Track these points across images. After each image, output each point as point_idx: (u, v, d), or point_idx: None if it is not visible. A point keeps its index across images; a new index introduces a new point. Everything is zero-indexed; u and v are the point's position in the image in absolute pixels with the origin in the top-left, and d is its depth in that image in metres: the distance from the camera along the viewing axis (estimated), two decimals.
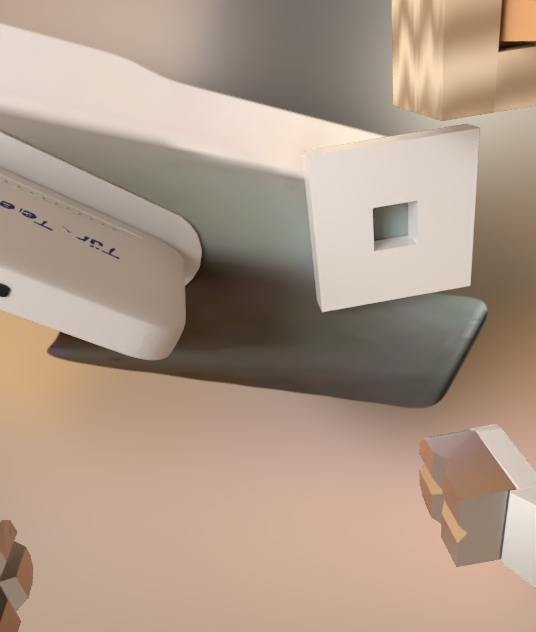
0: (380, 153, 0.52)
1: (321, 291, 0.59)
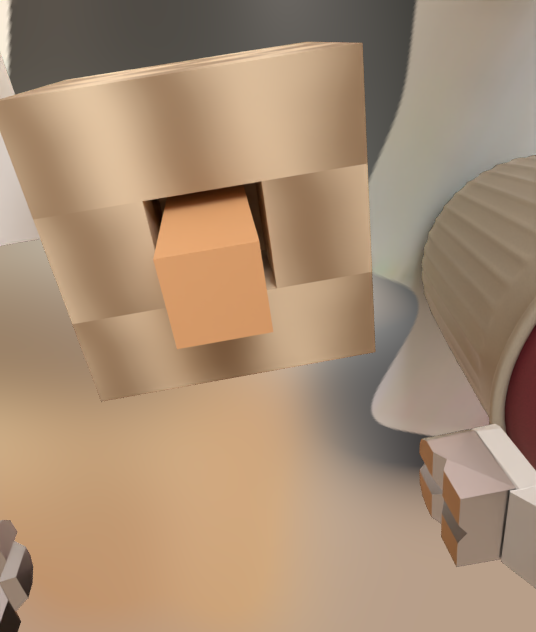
0: None
1: None
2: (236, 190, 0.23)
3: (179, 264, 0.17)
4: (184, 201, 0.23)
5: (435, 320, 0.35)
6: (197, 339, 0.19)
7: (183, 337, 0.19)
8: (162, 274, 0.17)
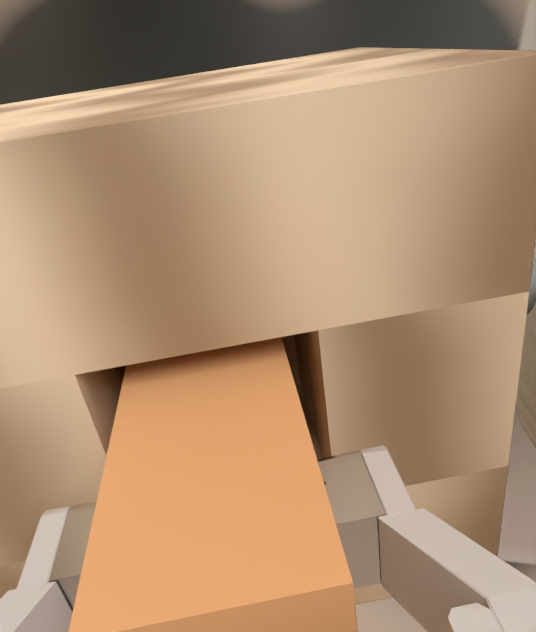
0: None
1: None
2: None
3: None
4: None
5: None
6: None
7: None
8: None
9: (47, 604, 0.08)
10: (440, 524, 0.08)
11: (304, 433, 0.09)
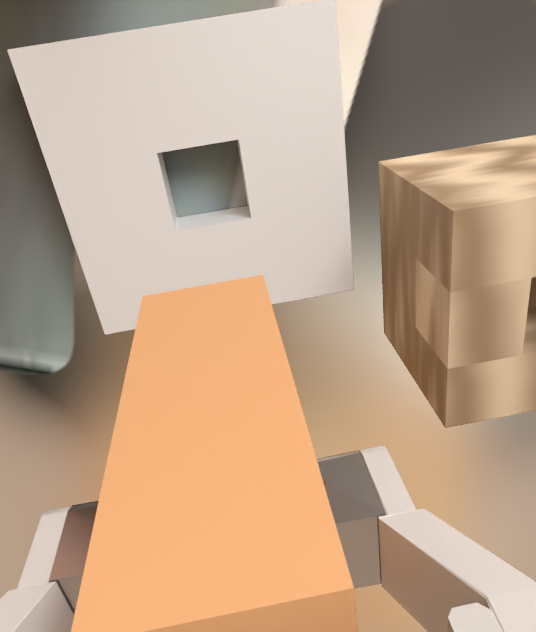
0: (329, 141, 0.32)
1: (58, 44, 0.28)
2: (262, 328, 0.12)
3: None
4: (164, 354, 0.12)
5: None
6: None
7: None
8: None
9: (47, 604, 0.08)
10: (440, 524, 0.08)
11: (305, 437, 0.09)
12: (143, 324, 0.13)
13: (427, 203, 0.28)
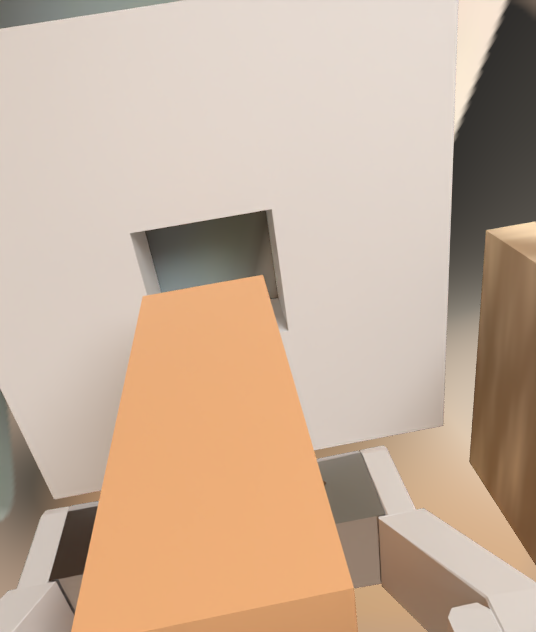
0: (426, 210, 0.19)
1: None
2: (263, 328, 0.12)
3: None
4: (164, 354, 0.12)
5: None
6: None
7: None
8: None
9: (47, 604, 0.08)
10: (440, 524, 0.08)
11: (305, 437, 0.09)
12: (143, 324, 0.13)
13: None
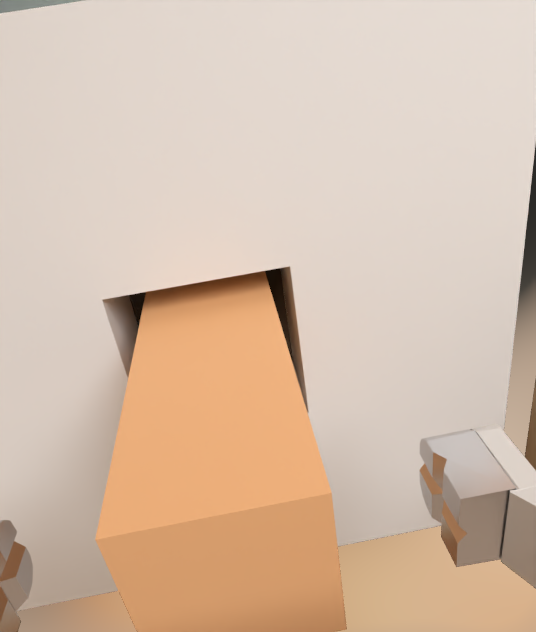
0: (490, 264, 0.14)
1: None
2: (259, 299, 0.14)
3: (154, 543, 0.08)
4: (171, 322, 0.13)
5: None
6: None
7: None
8: (117, 562, 0.08)
9: None
10: None
11: (294, 385, 0.10)
12: (151, 298, 0.15)
13: None
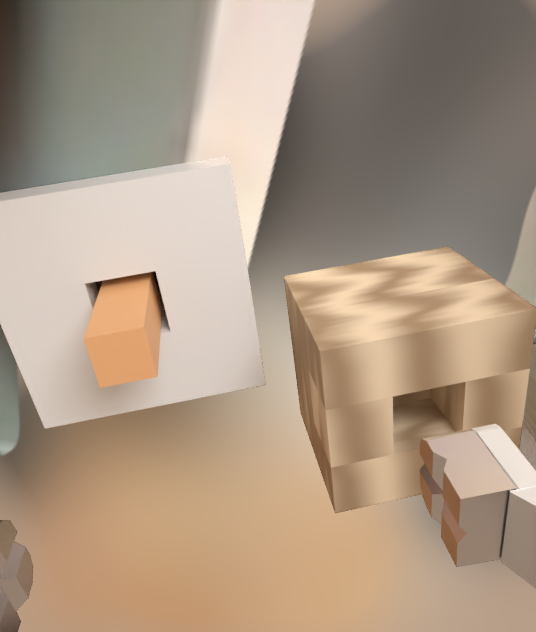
0: (234, 270, 0.37)
1: None
2: (144, 283, 0.37)
3: (98, 340, 0.31)
4: (110, 292, 0.36)
5: (528, 428, 0.48)
6: (112, 382, 0.32)
7: (103, 381, 0.32)
8: (88, 346, 0.31)
9: None
10: None
11: (145, 307, 0.33)
12: (104, 284, 0.38)
13: (308, 333, 0.34)
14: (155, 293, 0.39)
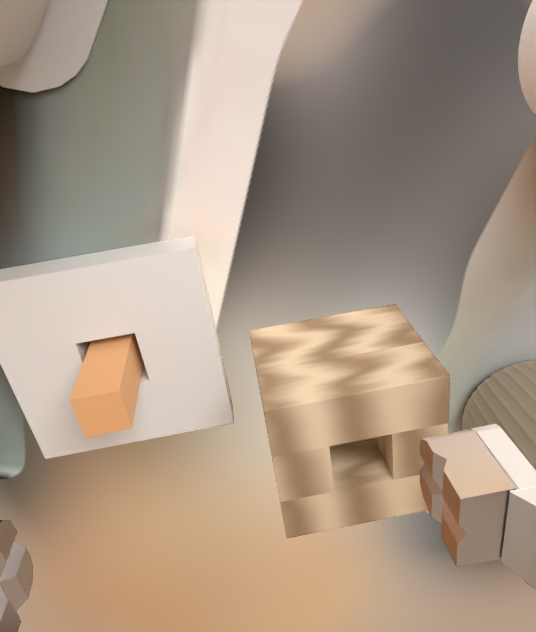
0: (202, 331, 0.44)
1: (0, 283, 0.40)
2: (125, 343, 0.43)
3: (82, 401, 0.37)
4: (96, 350, 0.43)
5: None
6: (94, 432, 0.39)
7: (88, 431, 0.39)
8: (74, 405, 0.37)
9: None
10: None
11: (122, 369, 0.40)
12: (92, 341, 0.44)
13: None
14: (136, 348, 0.46)
